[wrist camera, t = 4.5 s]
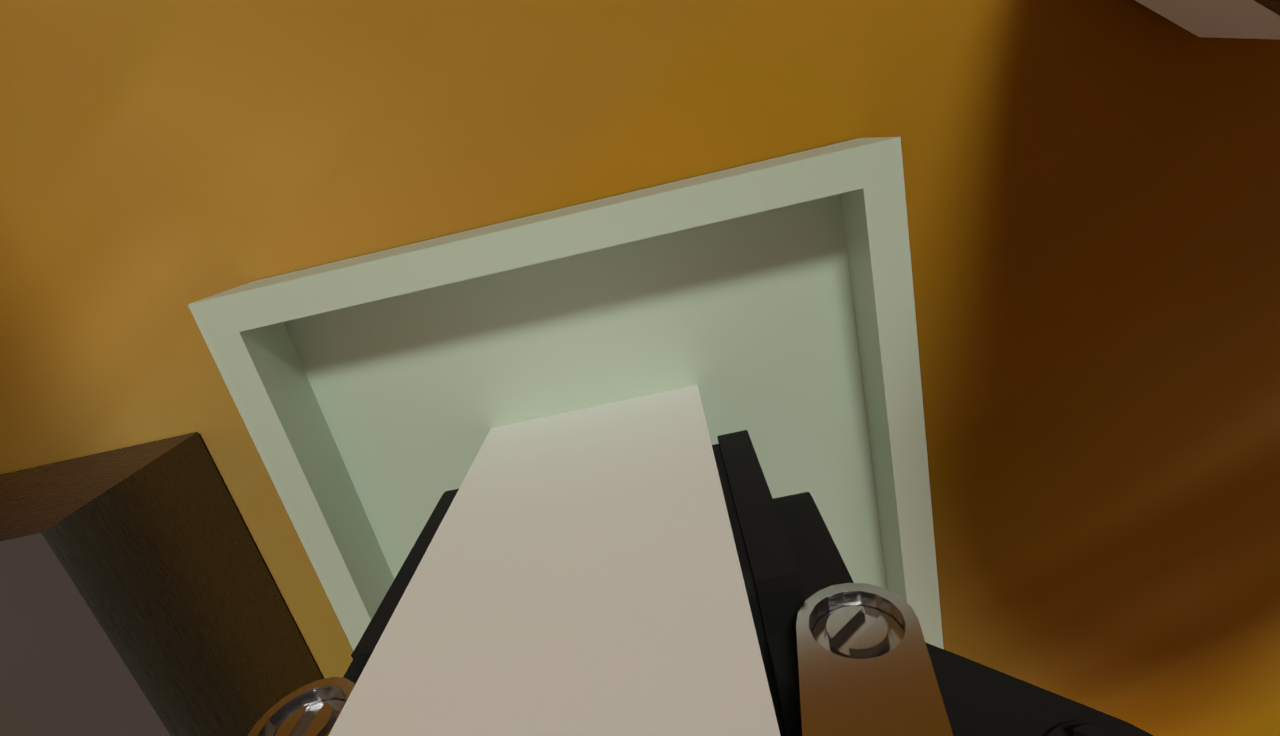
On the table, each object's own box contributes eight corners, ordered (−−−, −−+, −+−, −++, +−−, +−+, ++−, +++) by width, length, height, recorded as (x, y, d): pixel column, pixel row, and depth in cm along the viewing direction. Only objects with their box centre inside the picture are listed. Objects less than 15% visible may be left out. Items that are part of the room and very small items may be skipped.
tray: (253, 281, 12) (187, 304, 10) (860, 137, 11) (900, 137, 9) (448, 725, 15) (424, 798, 14) (912, 644, 14) (949, 711, 13)
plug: (491, 428, 12) (-64, 1473, 3) (697, 384, 12) (933, 1388, 2) (548, 596, 13) (318, 1704, 4) (735, 561, 13) (984, 1668, 4)
